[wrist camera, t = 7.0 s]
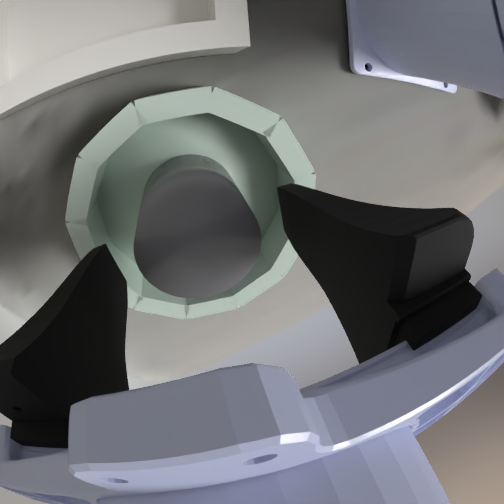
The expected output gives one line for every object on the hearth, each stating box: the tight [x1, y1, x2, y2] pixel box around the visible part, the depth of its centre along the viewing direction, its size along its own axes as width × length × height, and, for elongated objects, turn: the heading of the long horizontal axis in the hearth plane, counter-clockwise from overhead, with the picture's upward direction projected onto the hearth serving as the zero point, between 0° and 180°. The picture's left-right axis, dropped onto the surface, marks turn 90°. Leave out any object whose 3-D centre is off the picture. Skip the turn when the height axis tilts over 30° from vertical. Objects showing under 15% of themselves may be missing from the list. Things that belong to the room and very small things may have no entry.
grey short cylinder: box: [133, 154, 261, 299], centre depth 12 cm, size 5×5×4 cm
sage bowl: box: [65, 86, 316, 319], centre depth 13 cm, size 11×11×3 cm
